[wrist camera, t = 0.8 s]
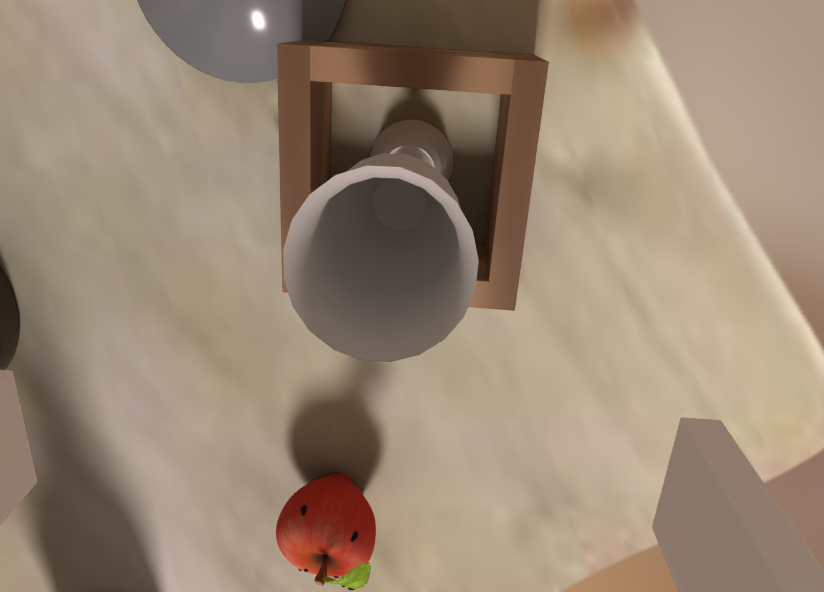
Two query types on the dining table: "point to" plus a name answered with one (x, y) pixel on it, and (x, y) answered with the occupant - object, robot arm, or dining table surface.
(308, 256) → the chalice
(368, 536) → the apple
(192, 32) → the coaster
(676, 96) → the dining table surface
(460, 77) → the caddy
